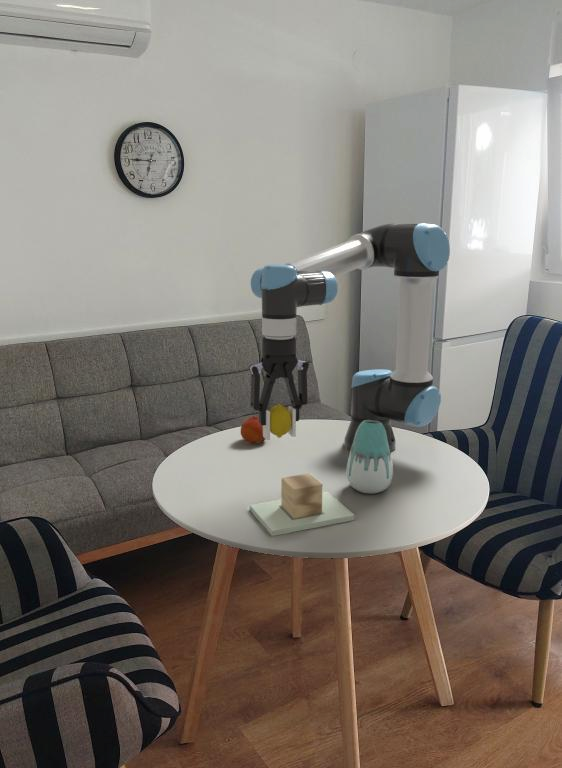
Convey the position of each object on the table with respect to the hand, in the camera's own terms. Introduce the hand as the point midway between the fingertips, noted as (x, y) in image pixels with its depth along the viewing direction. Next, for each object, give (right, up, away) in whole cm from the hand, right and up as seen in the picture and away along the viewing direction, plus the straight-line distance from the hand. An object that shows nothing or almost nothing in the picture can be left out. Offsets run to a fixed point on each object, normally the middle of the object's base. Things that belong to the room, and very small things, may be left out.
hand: (279, 436), depth 147 cm
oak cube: (+5, -17, +1) cm, 18 cm away
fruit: (-7, -6, +50) cm, 50 cm away
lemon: (0, 0, 0) cm, 1 cm away
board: (+5, -18, +1) cm, 19 cm away
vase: (+23, -15, +16) cm, 31 cm away
